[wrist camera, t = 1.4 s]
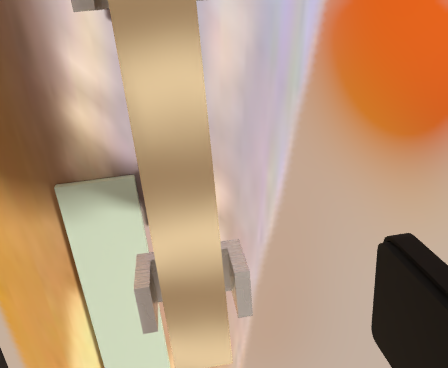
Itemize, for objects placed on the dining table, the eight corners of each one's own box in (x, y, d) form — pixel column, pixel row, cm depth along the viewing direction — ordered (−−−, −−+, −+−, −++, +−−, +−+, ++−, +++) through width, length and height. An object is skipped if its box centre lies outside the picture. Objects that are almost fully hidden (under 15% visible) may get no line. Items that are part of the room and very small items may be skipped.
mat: (55, 184, 32) (54, 187, 31) (134, 174, 32) (133, 177, 32) (113, 392, 41) (112, 397, 41) (173, 381, 42) (173, 386, 41)
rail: (97, -119, 16) (79, -155, 12) (175, -123, 16) (179, -160, 13) (173, 319, 25) (175, 373, 21) (222, 311, 25) (232, 363, 22)
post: (140, 173, 32) (130, 273, 20) (215, 163, 33) (248, 255, 21) (150, 228, 34) (146, 347, 22) (221, 218, 35) (253, 329, 23)
